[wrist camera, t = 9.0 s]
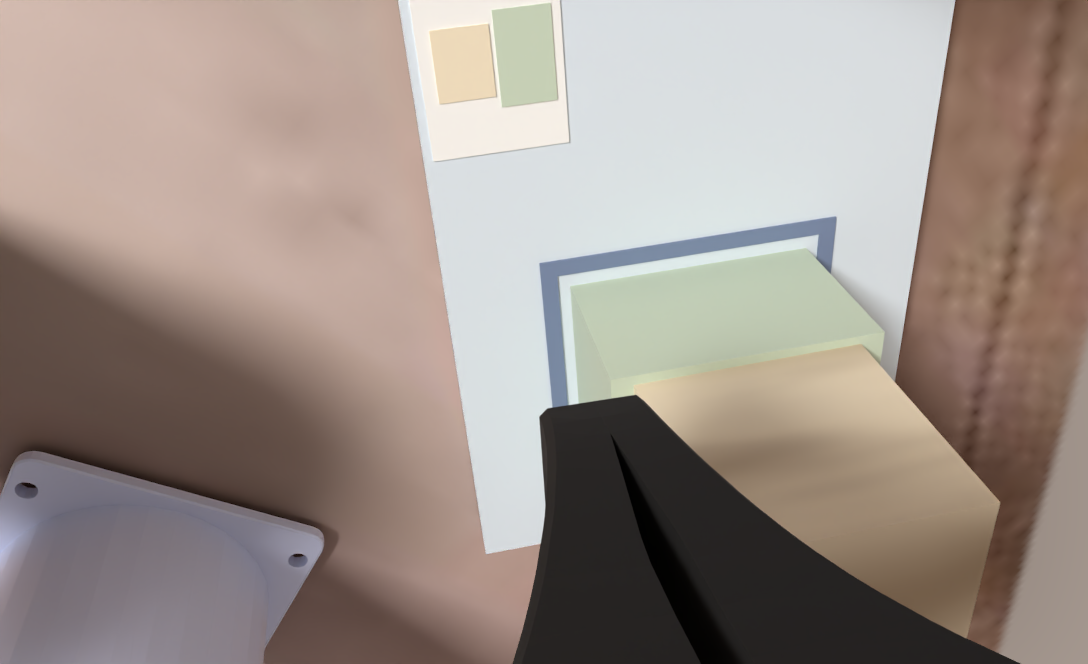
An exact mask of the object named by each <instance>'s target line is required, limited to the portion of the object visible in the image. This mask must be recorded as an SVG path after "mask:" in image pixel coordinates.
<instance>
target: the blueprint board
mask: <svg viewBox="0 0 1088 664" xmlns="http://www.w3.org/2000/svg"><path fill="white" fill-rule="evenodd" d="M398 4H399V11H400V17H401V23H402V29H403V36H404V42H405V48H406V55H407V61H408V67H409V74H410V80H411V86H412V93H413V99H414V105H415V111H416V118H417V124H418V130H419V137H420V143H421V149H422V156H423V162H424V168H425V175H426V181H427V187H428V193H429V200H430V206H431V212H432V219H433V225H434V231H435V238H436V244H437V250H438V257H439V263H440V269H441V275H442V282H443V288H444V294H445V301H446V307H447V313H448V320H449V326H450V332H451V339H452V345H453V351H454V357H455V364H456V370H457V376H458V383H459V389H460V395H461V402H462V408H463V414H464V421H465V427H466V433H467V439H468V446H469V452H470V458H471V465H472V471H473V477H474V484H475V490H476V496H477V503H478V509H479V515H480V521H481V528H482V534H483V540H484V545H485V551H486V554H490V553H495V552H500V551H505V550H510V549H516V548H521V547H526V546H531V545H536V544H541V539H542V532H543V526H544V517H545V492H544V478H543V464H542V450H541V436H540V421H539V416H540V415H541V414H542V413H543V412H544V411H545V410H546V409H547V408H553V407H560V406H566V405H573V404H579V401H578V387H577V373H576V359H575V346H574V332H573V318H572V304H571V290H570V286H574V285H580V284H586V283H592V282H599V281H605V280H611V279H617V278H623V277H630V276H636V275H642V274H648V273H654V272H660V271H667V270H673V269H679V268H685V267H691V266H698V265H704V264H710V263H716V262H722V261H728V260H735V259H741V258H747V257H753V256H759V255H766V254H772V253H778V252H784V251H790V250H796V249H803V248H807V249H808V251H809V252H810V253H811V254H812V255H813V256H814V257H815V258H816V259H817V260H818V261H819V262H820V263H821V264H822V265H823V267H824V268H825V269H826V270H827V271H828V272H829V273H830V274H831V275H832V276H833V277H834V278H835V279H836V280H837V281H838V283H839V284H840V285H841V286H842V287H843V288H844V289H845V290H846V291H847V292H848V293H849V294H850V295H851V296H852V297H853V299H854V300H855V301H856V302H857V303H858V304H859V305H860V306H861V307H862V308H863V309H864V310H865V311H866V312H867V313H868V315H869V316H870V317H871V318H872V319H873V320H874V321H875V322H876V323H877V324H878V325H879V326H880V327H881V328H882V330H883V331H884V332H885V335H884V341H883V348H882V355H881V362H880V366H881V367H882V368H883V369H884V370H885V372H886V373H887V374H888V375H889V376H890V377H891V378H892V380H893V381H894V382H895V378H896V371H897V365H898V359H899V352H900V346H901V340H902V333H903V327H904V321H905V314H906V308H907V302H908V295H909V289H910V283H911V277H912V270H913V264H914V258H915V251H916V245H917V239H918V232H919V226H920V220H921V213H922V207H923V201H924V194H925V188H926V182H927V176H928V169H929V163H930V157H931V150H932V144H933V138H934V131H935V125H936V119H937V112H938V106H939V100H940V93H941V87H942V81H943V74H944V68H945V62H946V56H947V49H948V43H949V37H950V30H951V24H952V18H953V11H954V5H955V0H398Z"/></svg>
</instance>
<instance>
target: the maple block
mask: <svg viewBox="0 0 1088 664" xmlns="http://www.w3.org/2000/svg"><path fill="white" fill-rule="evenodd" d="M634 395H637V396H639V397H640V398H641V399H642V400H644V401H645V402H646V403H647V404H648V405H649V406H650V407H651V408H652V409H653V411H654V412H655V413H656V414H657V415H658V416H659V417H660V418H661V419H662V420H663V421H664V422H665V423H666V424H667V425H668V426H669V427H670V428H671V429H672V430H673V431H674V432H675V433H676V434H677V435H678V436H679V437H680V438H681V439H682V440H683V441H684V442H685V443H686V444H687V445H689V446H690V447H691V448H692V449H693V450H694V451H695V452H696V453H697V454H698V455H699V456H700V457H701V458H702V459H703V460H704V461H705V462H706V463H708V464H709V465H710V466H711V467H712V468H713V469H714V470H715V471H716V472H718V473H719V474H720V475H721V476H722V477H723V478H724V479H726V480H727V481H728V482H729V483H730V484H731V485H732V486H733V487H735V488H736V489H737V490H738V491H739V492H740V493H741V494H743V495H744V496H745V497H746V498H747V499H749V500H750V501H751V502H752V503H753V504H755V505H756V506H757V507H758V508H759V509H761V510H762V511H763V512H764V513H766V514H767V515H768V516H769V517H771V518H772V519H773V520H775V521H776V522H777V523H778V524H780V525H781V526H782V527H784V528H785V529H786V530H787V531H789V532H790V533H791V534H793V535H794V536H795V537H797V538H798V539H799V540H801V541H802V542H803V543H805V544H806V545H808V546H809V547H810V548H812V549H813V550H815V551H816V552H817V553H819V554H820V555H822V556H823V557H825V558H827V559H828V560H830V561H831V562H833V563H834V564H836V565H837V566H839V567H840V568H842V569H843V570H845V571H846V572H848V573H849V574H851V575H852V576H854V577H855V578H857V579H859V580H860V581H862V582H864V583H865V584H867V585H869V586H870V587H872V588H874V589H875V590H877V591H879V592H880V593H882V594H884V595H886V596H888V597H889V598H891V599H893V600H895V601H897V602H898V603H900V604H902V605H904V606H906V607H907V608H909V609H911V610H913V611H915V612H916V613H918V614H920V615H922V616H924V617H925V618H927V619H929V620H931V621H933V622H935V623H937V624H939V625H941V626H943V627H945V628H946V629H948V630H950V631H952V632H954V633H956V634H958V635H960V636H962V637H964V638H966V639H967V635H968V631H969V627H970V623H971V619H972V615H973V611H974V607H975V603H976V599H977V595H978V591H979V587H980V583H981V579H982V575H983V571H984V567H985V563H986V559H987V555H988V551H989V547H990V543H991V539H992V535H993V531H994V527H995V522H996V518H997V514H998V510H999V506H1000V501H999V500H998V499H997V498H996V497H995V496H994V495H993V493H992V492H991V491H990V490H989V489H988V488H987V487H986V485H985V484H984V483H983V482H982V481H981V480H980V479H979V477H978V476H977V475H976V474H975V473H974V472H973V471H972V469H971V468H970V467H969V466H968V465H967V464H966V463H965V462H964V460H963V459H962V458H961V457H960V456H959V455H958V454H957V452H956V451H955V450H954V449H953V448H952V447H951V446H950V444H949V443H948V442H947V441H946V440H945V439H944V438H943V436H942V435H941V434H940V433H939V432H938V431H937V430H936V428H935V427H934V426H933V425H932V424H931V423H930V422H929V421H928V419H927V418H926V417H925V416H924V415H923V414H922V413H921V411H920V410H919V409H918V408H917V407H916V406H915V405H914V403H913V402H912V401H911V400H910V399H909V398H908V397H907V395H906V394H905V393H904V392H903V391H902V390H901V389H900V388H899V386H898V385H897V384H896V383H895V382H894V381H893V380H892V378H891V377H890V376H889V375H888V374H887V373H886V372H885V370H884V369H883V368H882V367H881V366H880V365H879V364H878V362H877V361H876V360H875V359H874V358H873V357H872V356H871V354H870V353H869V352H868V351H867V350H866V349H865V348H864V347H863V345H862V344H857V345H852V346H846V347H841V348H835V349H830V350H824V351H819V352H813V353H808V354H802V355H797V356H791V357H786V358H780V359H775V360H769V361H764V362H758V363H753V364H747V365H742V366H736V367H731V368H725V369H720V370H714V371H709V372H703V373H698V374H692V375H687V376H681V377H676V378H670V379H665V380H659V381H654V382H648V383H643V384H637V385H634Z"/></svg>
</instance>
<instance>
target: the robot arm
mask: <svg viewBox="0 0 1088 664" xmlns="http://www.w3.org/2000/svg"><path fill="white" fill-rule="evenodd" d="M539 421H540V436H541V450H542V464H543V478H544V492H545V517H544V526H543V532H542V539H541V545H540V551H539V557H538V564H537V570H536V575H535V580H534V585H533V589H532V594H531V598H530V603H529V607H528V611H527V615H526V619H525V623H524V627H523V630H522V634H521V638H520V641H519V644H518V648H517V651H516V654H515V658H514V661H513V664H1020V663H1018V662H1016V661H1013V660H1011V659H1009V658H1007V657H1005V656H1003V655H1001V654H999V653H996V652H994V651H992V650H990V649H988V648H986V647H984V646H981V645H979V644H977V643H975V642H973V641H971V640H969V639H966V638H964V637H962V636H960V635H958V634H956V633H954V632H952V631H950V630H948V629H946V628H945V627H943V626H941V625H939V624H937V623H935V622H933V621H931V620H929V619H927V618H925V617H924V616H922V615H920V614H918V613H916V612H915V611H913V610H911V609H909V608H907V607H906V606H904V605H902V604H900V603H898V602H897V601H895V600H893V599H891V598H889V597H888V596H886V595H884V594H882V593H880V592H879V591H877V590H875V589H874V588H872V587H870V586H869V585H867V584H865V583H864V582H862V581H860V580H859V579H857V578H855V577H854V576H852V575H851V574H849V573H848V572H846V571H845V570H843V569H842V568H840V567H839V566H837V565H836V564H834V563H833V562H831V561H830V560H828V559H827V558H825V557H823V556H822V555H820V554H819V553H817V552H816V551H815V550H813V549H812V548H810V547H809V546H808V545H806V544H805V543H803V542H802V541H801V540H799V539H798V538H797V537H795V536H794V535H793V534H791V533H790V532H789V531H787V530H786V529H785V528H784V527H782V526H781V525H780V524H778V523H777V522H776V521H775V520H773V519H772V518H771V517H769V516H768V515H767V514H766V513H764V512H763V511H762V510H761V509H759V508H758V507H757V506H756V505H755V504H753V503H752V502H751V501H750V500H749V499H747V498H746V497H745V496H744V495H743V494H741V493H740V492H739V491H738V490H737V489H736V488H735V487H733V486H732V485H731V484H730V483H729V482H728V481H727V480H726V479H724V478H723V477H722V476H721V475H720V474H719V473H718V472H716V471H715V470H714V469H713V468H712V467H711V466H710V465H709V464H708V463H706V462H705V461H704V460H703V459H702V458H701V457H700V456H699V455H698V454H697V453H696V452H695V451H694V450H693V449H692V448H691V447H690V446H689V445H687V444H686V443H685V442H684V441H683V440H682V439H681V438H680V437H679V436H678V435H677V434H676V433H675V432H674V431H673V430H672V429H671V428H670V427H669V426H668V425H667V424H666V423H665V422H664V421H663V420H662V419H661V418H660V417H659V416H658V415H657V414H656V413H655V412H654V411H653V409H652V408H651V407H650V406H649V405H648V404H647V403H646V402H645V401H644V400H642V399H641V398H640V397H639V396H637V395H631V396H624V397H618V398H611V399H605V400H598V401H592V402H585V403H579V404H573V405H566V406H560V407H553V408H547V409H546V410H545V411H544V412H543V413H542V414H541V415H540V416H539ZM22 482H27V483H31V484H33V485H35V486H36V488H28V487H25V486H23V485H22V484H21V483H22ZM323 548H324V536H323V533H322V532H321V531H320V530H319V529H317V528H315V527H313V526H309V525H306V524H302V523H298V522H295V521H291V520H287V519H284V518H280V517H277V516H273V515H269V514H266V513H262V512H258V511H255V510H251V509H247V508H244V507H240V506H237V505H233V504H229V503H226V502H222V501H218V500H215V499H211V498H208V497H204V496H200V495H197V494H193V493H189V492H186V491H182V490H178V489H175V488H171V487H168V486H164V485H160V484H157V483H153V482H149V481H146V480H142V479H139V478H135V477H131V476H128V475H124V474H120V473H117V472H113V471H109V470H106V469H102V468H99V467H95V466H91V465H88V464H84V463H80V462H77V461H73V460H70V459H66V458H62V457H59V456H55V455H51V454H48V453H44V452H39V451H29V452H24V453H22V454H20V455H18V457H17V458H16V459H15V461H14V463H13V465H12V467H11V469H10V472H9V475H8V477H7V480H6V482H5V485H4V488H3V490H2V493H1V495H0V664H263V663H264V651H265V648H266V646H267V644H268V642H269V641H270V639H271V637H272V636H273V634H274V632H275V631H276V629H277V627H278V626H279V624H280V622H281V620H282V619H283V617H284V615H285V614H286V612H287V610H288V609H289V607H290V605H291V604H292V602H293V600H294V599H295V597H296V595H297V593H298V592H299V590H300V588H301V587H302V585H303V583H304V582H305V580H306V578H307V577H308V575H309V573H310V571H311V570H312V568H313V566H314V565H315V563H316V561H317V560H318V558H319V556H320V555H321V553H322V551H323ZM294 554H303V555H305V556H302V557H294V556H292V555H294Z"/></svg>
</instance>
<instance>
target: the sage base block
mask: <svg viewBox="0 0 1088 664" xmlns="http://www.w3.org/2000/svg"><path fill="white" fill-rule="evenodd" d="M570 290H571V304H572V318H573V332H574V346H575V359H576V373H577V387H578V401H579V403H585V402H592V401H598V400H605V399H611V398H618V397H624V396H631V395H634V385H637V384H643V383H648V382H654V381H659V380H665V379H670V378H676V377H681V376H687V375H692V374H698V373H703V372H709V371H714V370H720V369H725V368H731V367H736V366H742V365H747V364H753V363H758V362H764V361H769V360H775V359H780V358H786V357H791V356H797V355H802V354H808V353H813V352H819V351H824V350H830V349H835V348H841V347H846V346H852V345H857V344H862V345H863V347H864V348H865V349H866V350H867V351H868V352H869V353H870V354H871V356H872V357H873V358H874V359H875V360H876V361H877V362H878V364H879V365H880V362H881V355H882V348H883V341H884V335H885V332H884V331H883V330H882V328H881V327H880V326H879V325H878V324H877V323H876V322H875V321H874V320H873V319H872V318H871V317H870V316H869V315H868V313H867V312H866V311H865V310H864V309H863V308H862V307H861V306H860V305H859V304H858V303H857V302H856V301H855V300H854V299H853V297H852V296H851V295H850V294H849V293H848V292H847V291H846V290H845V289H844V288H843V287H842V286H841V285H840V284H839V283H838V281H837V280H836V279H835V278H834V277H833V276H832V275H831V274H830V273H829V272H828V271H827V270H826V269H825V268H824V267H823V265H822V264H821V263H820V262H819V261H818V260H817V259H816V258H815V257H814V256H813V255H812V254H811V253H810V252H809V251H808V249H807V248H803V249H796V250H790V251H784V252H778V253H772V254H766V255H759V256H753V257H747V258H741V259H735V260H728V261H722V262H716V263H710V264H704V265H698V266H691V267H685V268H679V269H673V270H667V271H660V272H654V273H648V274H642V275H636V276H630V277H623V278H617V279H611V280H605V281H599V282H592V283H586V284H580V285H574V286H570Z"/></svg>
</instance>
